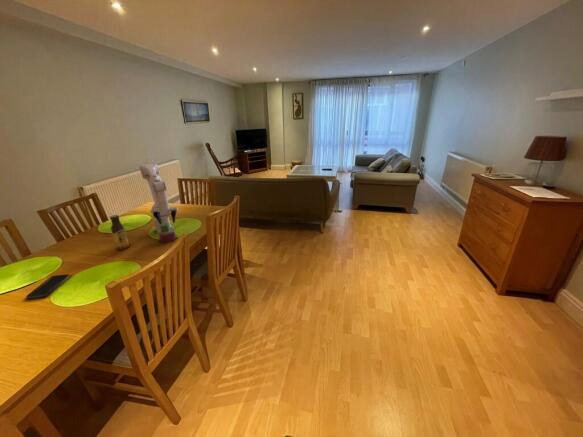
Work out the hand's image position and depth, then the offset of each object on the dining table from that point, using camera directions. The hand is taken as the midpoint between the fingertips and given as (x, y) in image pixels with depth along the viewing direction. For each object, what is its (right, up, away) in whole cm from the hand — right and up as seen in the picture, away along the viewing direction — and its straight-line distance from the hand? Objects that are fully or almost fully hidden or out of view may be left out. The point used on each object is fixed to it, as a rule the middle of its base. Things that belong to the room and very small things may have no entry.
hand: (167, 222), depth 147 cm
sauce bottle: (-23, -15, -6) cm, 27 cm away
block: (-1, -5, 0) cm, 5 cm away
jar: (-1, -10, +3) cm, 11 cm away
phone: (-33, -28, -39) cm, 58 cm away
